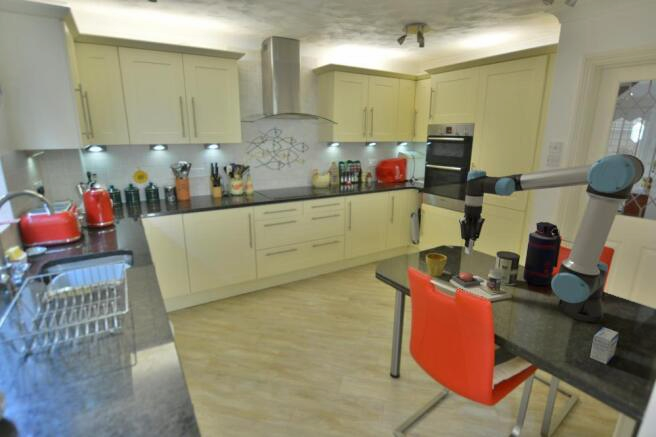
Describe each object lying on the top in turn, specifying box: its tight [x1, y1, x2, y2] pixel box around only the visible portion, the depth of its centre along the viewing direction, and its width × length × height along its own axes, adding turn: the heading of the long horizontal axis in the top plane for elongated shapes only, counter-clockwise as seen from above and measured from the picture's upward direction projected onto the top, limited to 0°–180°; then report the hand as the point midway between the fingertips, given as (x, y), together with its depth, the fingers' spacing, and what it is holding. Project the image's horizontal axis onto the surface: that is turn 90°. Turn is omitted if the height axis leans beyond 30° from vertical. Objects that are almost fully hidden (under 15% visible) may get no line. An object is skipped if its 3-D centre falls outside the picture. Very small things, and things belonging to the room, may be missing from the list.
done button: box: [459, 271, 474, 282], centre depth 163 cm, size 6×6×2 cm
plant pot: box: [425, 253, 448, 278], centre depth 176 cm, size 10×10×10 cm
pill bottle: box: [486, 267, 502, 292], centre depth 154 cm, size 6×6×10 cm
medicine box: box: [590, 327, 620, 365], centre depth 111 cm, size 8×4×9 cm, turn 126°
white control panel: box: [449, 274, 513, 302], centre depth 159 cm, size 22×16×4 cm
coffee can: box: [494, 250, 521, 286], centre depth 167 cm, size 10×10×14 cm
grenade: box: [522, 221, 562, 287], centre depth 164 cm, size 14×12×30 cm
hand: (468, 253), depth 161 cm, fingers closed
